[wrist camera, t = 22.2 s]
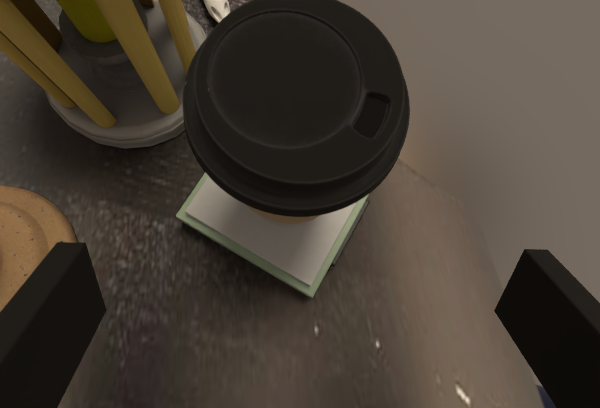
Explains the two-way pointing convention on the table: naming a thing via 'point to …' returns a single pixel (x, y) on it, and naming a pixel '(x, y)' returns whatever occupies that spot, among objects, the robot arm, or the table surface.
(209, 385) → the table surface
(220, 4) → the white cylindrical rod
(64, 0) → the lantern
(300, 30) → the coffee cup
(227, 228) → the scale
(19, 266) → the candle holder
